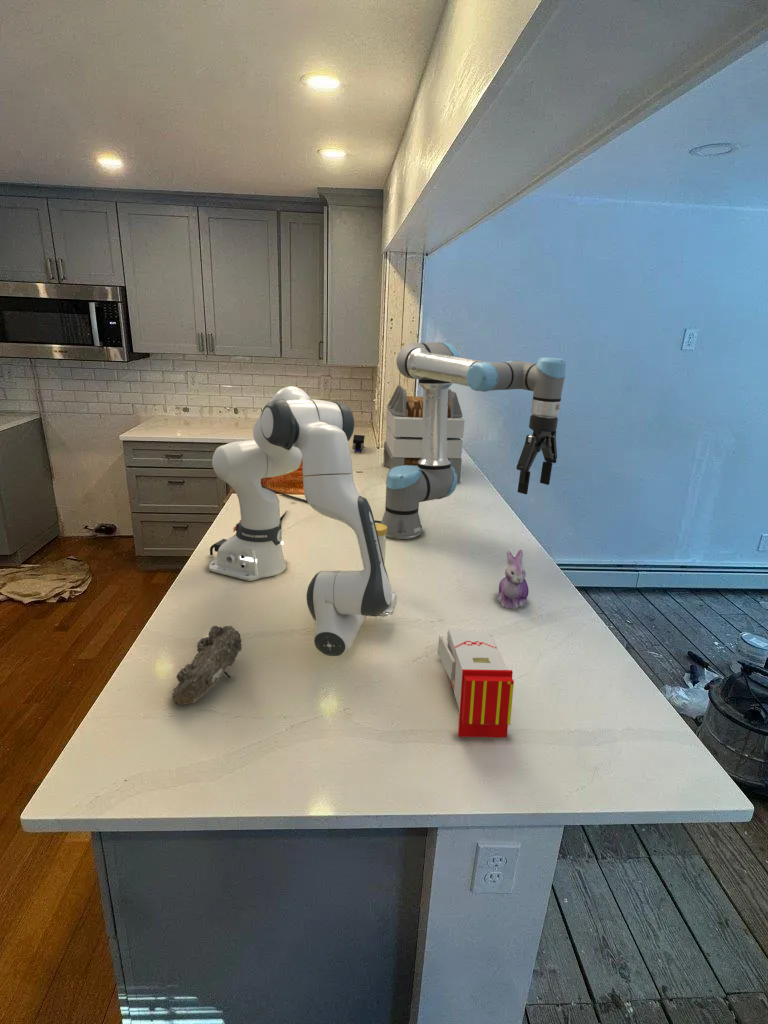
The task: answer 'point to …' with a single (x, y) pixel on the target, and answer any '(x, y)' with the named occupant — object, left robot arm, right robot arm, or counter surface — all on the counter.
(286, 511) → the feather
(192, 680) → the fossil
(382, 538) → the jar
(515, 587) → the figurine
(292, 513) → the counter surface
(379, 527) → the lid
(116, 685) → the counter surface
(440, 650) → the toy
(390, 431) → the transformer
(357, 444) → the figurine character
